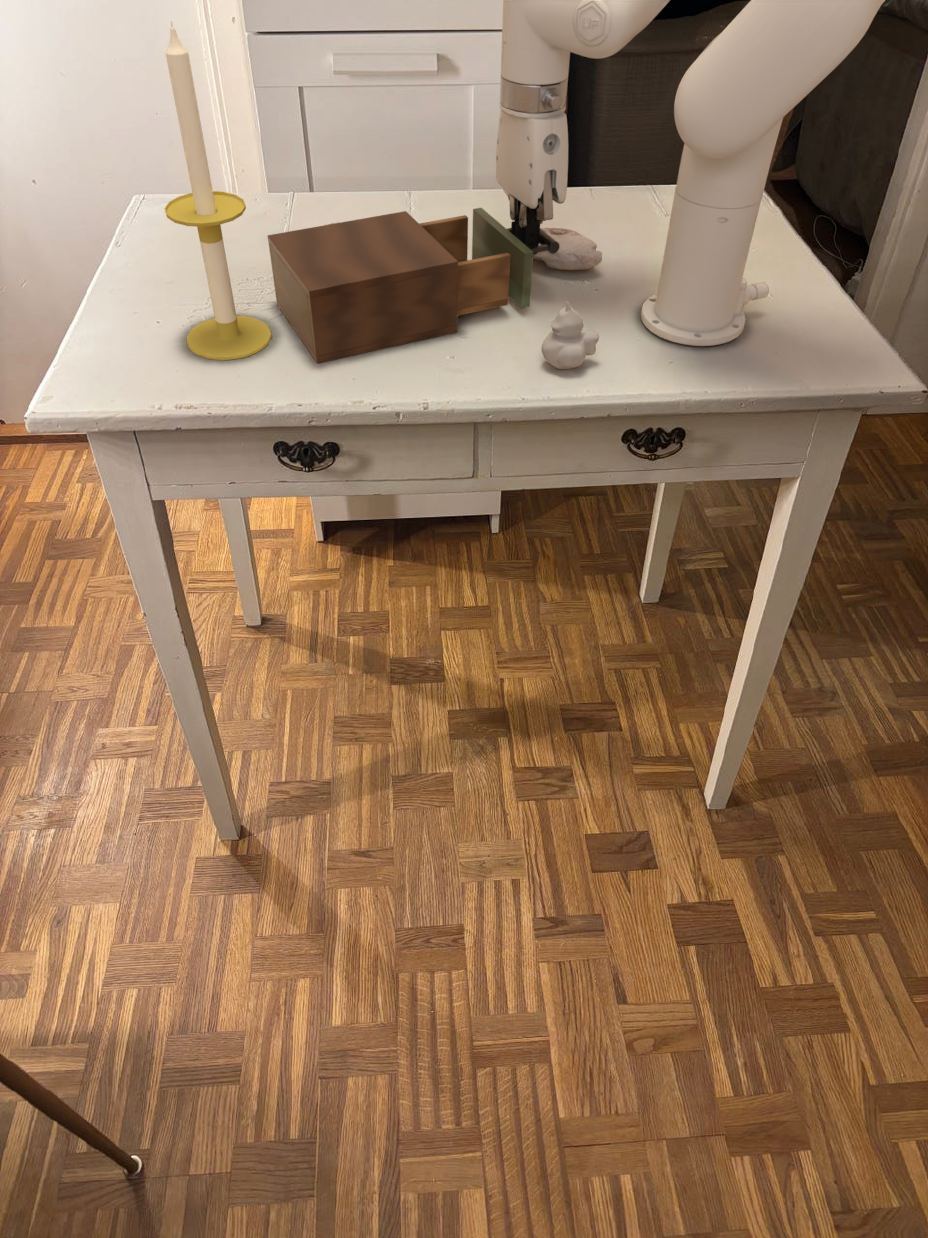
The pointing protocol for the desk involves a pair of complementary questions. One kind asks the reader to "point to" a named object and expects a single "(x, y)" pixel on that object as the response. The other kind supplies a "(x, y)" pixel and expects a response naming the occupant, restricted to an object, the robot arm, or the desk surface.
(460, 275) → the drawer
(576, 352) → the rubber duck
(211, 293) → the candle
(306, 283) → the cabinet
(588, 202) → the desk surface
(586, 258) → the fossil
